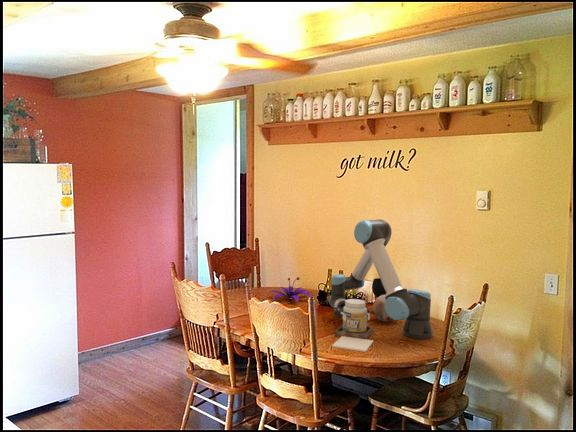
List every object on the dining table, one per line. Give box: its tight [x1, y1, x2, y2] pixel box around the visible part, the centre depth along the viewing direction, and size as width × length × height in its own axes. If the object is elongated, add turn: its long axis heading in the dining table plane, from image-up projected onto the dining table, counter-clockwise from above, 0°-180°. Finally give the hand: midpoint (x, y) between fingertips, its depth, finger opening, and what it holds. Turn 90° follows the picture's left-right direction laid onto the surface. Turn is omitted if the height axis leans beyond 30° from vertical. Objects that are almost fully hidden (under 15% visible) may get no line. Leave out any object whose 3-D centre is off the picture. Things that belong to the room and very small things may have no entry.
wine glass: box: [370, 277, 386, 315], centre depth 309 cm, size 10×10×20 cm
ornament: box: [372, 295, 395, 323], centre depth 291 cm, size 15×15×15 cm
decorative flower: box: [267, 276, 313, 303], centre depth 337 cm, size 28×31×15 cm
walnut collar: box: [334, 323, 374, 340], centre depth 266 cm, size 16×16×2 cm
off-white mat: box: [331, 336, 374, 353], centre depth 249 cm, size 16×16×1 cm
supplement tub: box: [342, 298, 368, 335], centre depth 266 cm, size 12×12×17 cm
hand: (357, 317), depth 262 cm, fingers closed on supplement tub, 12 cm apart
